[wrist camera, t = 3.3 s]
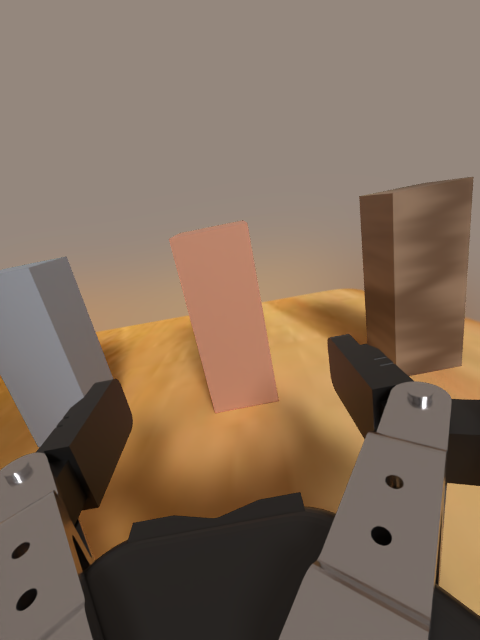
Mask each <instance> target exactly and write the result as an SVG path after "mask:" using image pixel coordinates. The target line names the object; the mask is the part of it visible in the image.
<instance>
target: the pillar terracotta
mask: <svg viewBox="0 0 480 640" xmlns="http://www.w3.org/2000/svg"><path fill="white" fill-rule="evenodd" d="M169 241H170V244H171V248H172V252H173V256H174V260H175V263H176V267H177V271H178V274H179V278H180V282H181V286H182V290H183V293H184V297H185V301H186V305H187V309H188V312H189V316H190V320H191V324H192V328H193V331H194V335H195V339H196V343H197V346H198V350H199V354H200V358H201V361H202V365H203V369H204V373H205V377H206V380H207V384H208V388H209V392H210V395H211V399H212V403H213V407H214V411H215V413H218V412H224V411H229V410H234V409H239V408H244V407H250V406H255V405H260V404H265V403H270V402H276V401H279V400H278V394H277V388H276V383H275V377H274V371H273V366H272V360H271V354H270V349H269V343H268V337H267V332H266V326H265V320H264V315H263V309H262V303H261V298H260V292H259V287H258V281H257V275H256V269H255V264H254V258H253V253H252V247H251V241H250V235H249V230H248V225H247V223H246V222H245V221H243V220H242V221H237V222H233V223H227V224H222V225H217V226H212V227H208V228H203V229H198V230H193V231H188V232H183V233H179V234H177V235H176V236H174V237H172V238H170V239H169Z"/></svg>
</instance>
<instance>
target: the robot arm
mask: <svg viewBox="0 0 480 640" xmlns="http://www.w3.org/2000/svg"><path fill="white" fill-rule="evenodd" d="M328 354H329V363H330V373H331V379H332V383H333V386H334V389H335V391H336V393H337V394H338V396H339V398H340V399H341V401H342V403H343V404H344V406H345V408H346V409H347V411H348V413H349V414H350V416H351V417H352V419H353V421H354V422H355V424H356V426H357V427H358V429H359V431H360V432H361V434H362V436H363V437H364V439H365V440H364V443H363V446H362V448H361V451H360V453H359V456H358V458H357V461H356V464H355V466H354V469H353V471H352V474H351V477H350V479H349V482H348V484H347V487H346V490H345V492H344V495H343V497H342V500H341V503H340V505H339V508H338V510H337V513H336V514H335V513H333V512H330V511H327V510H323V509H319V508H313V507H304V504H303V500H302V497H301V493H300V492H299V493H293V494H288V495H282V496H277V497H272V498H266V499H261V500H257V501H255V502H253V503H250V504H248V505H246V506H244V507H241V508H239V509H237V510H235V511H232V512H230V513H228V514H225V515H223V516H221V517H218V518H201V517H187V516H168V517H163V518H157V519H152V520H146V521H141V522H136V523H133V525H132V528H131V532H130V535H129V539H128V540H127V541H124V542H122V543H121V544H119V545H117V546H115V547H113V548H112V549H111V550H109V551H108V552H106V553H105V554H103V555H102V556H101V557H99V558H98V559H97V560H96V561H95V558H94V556H93V553H92V550H91V547H90V545H89V542H88V539H87V536H86V534H85V531H84V528H83V526H82V523H81V521H80V520H79V518H78V517H79V515H80V513H81V511H82V510H87V509H92V508H98V507H99V505H100V503H101V501H102V498H103V496H104V494H105V491H106V489H107V487H108V484H109V482H110V479H111V477H112V475H113V472H114V470H115V468H116V465H117V463H118V460H119V458H120V456H121V453H122V451H123V449H124V446H125V444H126V442H127V439H128V437H129V434H130V432H131V429H132V424H133V420H132V414H131V411H130V408H129V405H128V403H127V400H126V397H125V395H124V392H123V389H122V387H121V384H120V382H119V381H118V380H117V379H112V380H107V381H101V382H96V383H94V384H93V386H92V387H91V388H90V390H89V391H88V392H87V394H86V395H85V396H84V398H82V399H81V400H80V401H78V402H77V403H76V404H75V405H73V406H72V407H71V408H70V409H69V410H68V412H67V413H66V414H65V416H64V417H63V419H62V420H61V421H60V422H59V423H58V425H57V428H54V430H53V431H52V432H51V434H50V435H49V436H48V438H47V439H46V440H45V441H44V443H43V444H42V445H41V447H40V448H39V449H38V450H37V452H36V453H32V454H28V455H25V456H23V457H20V458H18V459H16V460H15V461H13V462H11V463H10V464H8V465H7V466H5V467H4V468H3V469H1V470H0V640H480V616H479V615H477V614H476V613H475V612H473V611H472V610H471V609H469V608H468V607H467V606H465V605H464V604H463V603H461V602H460V601H459V600H457V599H456V598H455V597H453V596H452V595H451V594H449V593H448V592H446V591H445V590H444V589H442V588H441V587H440V586H439V583H440V569H441V554H442V540H443V528H444V516H445V503H446V491H447V483H455V484H465V485H475V486H480V400H461V399H451V397H450V395H449V394H448V393H447V392H446V391H445V390H443V389H442V388H440V387H438V386H435V385H433V384H429V383H424V382H414V381H413V380H412V379H411V378H410V377H409V376H408V375H407V374H406V373H405V372H403V371H402V370H401V369H400V368H399V367H398V366H397V365H396V364H393V362H392V361H391V360H390V359H389V358H387V356H386V355H385V354H384V353H383V352H381V351H380V350H379V349H378V348H375V347H373V346H370V345H368V344H363V345H359V344H358V343H357V341H356V340H355V339H354V338H353V337H352V336H351V335H349V334H346V335H341V336H335V337H330V338H328Z"/></svg>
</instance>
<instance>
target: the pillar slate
mask: <svg viewBox="0 0 480 640" xmlns="http://www.w3.org/2000/svg"><path fill="white" fill-rule="evenodd" d="M0 375H1V377H2V379H3V381H4V383H5V385H6V387H7V388H8V390H9V392H10V394H11V396H12V398H13V400H14V402H15V404H16V406H17V408H18V409H19V411H20V413H21V415H22V417H23V419H24V421H25V423H26V425H27V427H28V428H29V430H30V432H31V434H32V436H33V438H34V440H35V442H36V444H37V446H38V447H41V445H42V444H43V443H44V441H45V440H46V439H47V438H48V436H49V435H50V434H51V432H52V431H53V430H54V428H57V425H58V423H59V422H60V421H61V420H62V419H63V417H64V416H65V414H66V413H67V412H68V410H69V409H70V408H71V407H72V406H73V405H75V404H76V403H77V402H78V401H80V400H81V399H82V398H84V396H85V395H86V394H87V392H88V391H89V390H90V388H91V387H92V386H93V384H94V383H96V382H101V381H107V380H112V379H113V377H112V374H111V372H110V369H109V367H108V364H107V361H106V359H105V356H104V353H103V351H102V348H101V346H100V343H99V340H98V338H97V335H96V333H95V330H94V327H93V325H92V322H91V319H90V317H89V314H88V312H87V309H86V306H85V304H84V301H83V299H82V296H81V294H80V291H79V288H78V285H77V283H76V280H75V278H74V275H73V272H72V270H71V267H70V264H69V262H68V259H67V257H61V258H57V259H51V260H47V261H42V262H37V263H32V264H27V265H22V266H17V267H12V268H7V269H3V270H0Z"/></svg>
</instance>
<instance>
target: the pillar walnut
mask: <svg viewBox="0 0 480 640" xmlns="http://www.w3.org/2000/svg"><path fill="white" fill-rule="evenodd" d="M472 191H473V177H467V178H460V179H452V180H444V181H437V182H429V183H422V184H418V185H412V186H408V187H403V188H398V189H393V190H388V191H383V192H378V193H373V194H368V195H364V196H359V197H360V215H361V233H362V250H363V251H362V252H363V271H364V288H365V289H364V290H365V308H366V326H367V344H368V345H370V346H373V347H375V348H378V349H379V350H380V351H381V352H383V353H384V354H385V355H386V356H387V358H389V359H390V360H391V361H392V362H393V364H396V365H397V366H398V367H399V368H400V369H401V370H402V371H403V372H405V373H406V374H407V375H408V376H411V375H416V374H421V373H426V372H432V371H437V370H442V369H447V368H453V367H458V366H462V350H463V334H464V318H465V302H466V286H467V269H468V255H469V239H470V223H471V207H472Z"/></svg>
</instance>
